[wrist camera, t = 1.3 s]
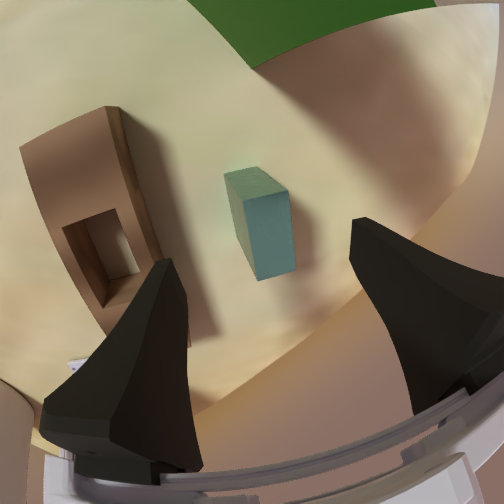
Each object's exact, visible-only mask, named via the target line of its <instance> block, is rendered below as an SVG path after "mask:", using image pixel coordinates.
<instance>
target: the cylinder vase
mask: <svg viewBox="0 0 504 504" xmlns="http://www.w3.org/2000/svg"><path fill="white" fill-rule="evenodd" d="M34 418H35V415H34V411H33V409H32V407H31V405H30V404H29V403H28V402H27V400H26V399H25V398H24V397H23V396H22V395H20V394H19V393H18V392H17V391H16V390H14V389H13V388H12V387H10V386H9V385H7V384H6V383H4V382H3V381H1V380H0V504H27V473H28V460H29V451H30V443H31V436H32V429H33V423H34Z"/></svg>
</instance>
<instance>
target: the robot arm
mask: <svg viewBox="0 0 504 504" xmlns="http://www.w3.org/2000/svg"><path fill="white" fill-rule="evenodd" d="M349 260H350V262H351V265H352V267H353V269H354V271H355V274H356V276H357V278H358V280H359V281H360V283H361V285H362V286H363V288H364V290H365V291H366V293H367V295H368V296H369V298H370V299H371V301H372V303H373V304H374V306H375V308H376V309H377V311H378V313H379V314H380V316H381V318H382V320H383V321H384V323H385V325H386V327H387V329H388V331H389V334H390V337H391V339H392V341H393V344H394V346H395V349H396V352H397V354H398V357H399V360H400V363H401V366H402V369H403V372H404V376H405V379H406V383H407V387H408V391H409V395H410V400H411V404H412V410H413V414H414V416H413V417H411V418H409V419H407V420H405V421H403V422H401V423H399V424H397V425H394V426H392V427H390V428H388V429H385V430H383V431H381V432H378V433H376V434H373V435H371V436H368V437H366V438H363V439H361V440H358V441H355V442H352V443H349V444H346V445H343V446H340V447H337V448H334V449H331V450H328V451H324V452H321V453H317V454H314V455H310V456H306V457H302V458H298V459H294V460H290V461H285V462H280V463H276V464H270V465H264V466H259V467H252V468H246V469H238V470H230V471H219V472H206V473H195V472H199V471H200V470H201V469H202V467H203V466H204V465H203V462H202V458H201V454H200V450H199V445H198V442H197V437H196V432H195V427H194V421H193V415H192V409H191V402H190V395H189V386H188V377H187V346H188V307H187V295H186V293H185V291H184V288H183V286H182V284H181V281H180V279H179V277H178V274H177V272H176V269H175V267H174V265H173V262H172V260H171V258H168V259H163V260H159V261H156V262H155V264H154V265H153V267H152V268H151V270H150V272H149V273H148V275H147V277H146V278H145V280H144V282H143V283H142V285H141V287H140V288H139V290H138V292H137V293H136V295H135V297H134V298H133V300H132V301H131V303H130V304H129V306H128V307H127V309H126V310H125V312H124V313H123V315H122V317H121V318H120V320H119V321H118V322H117V324H116V325H115V327H114V328H113V329H112V331H111V332H110V333H109V334H108V336H107V337H106V338H105V340H104V341H103V342H102V343H101V345H100V346H99V347H98V348H97V349H96V350H95V351H94V353H93V354H92V355H91V356H90V357H89V358H85V359H79V360H73V361H69V362H68V364H67V365H68V367H69V368H70V369H71V370H72V371H73V372H74V374H73V375H72V376H71V377H70V378H69V379H67V380H66V381H65V382H64V383H63V384H62V385H61V386H59V387H58V388H57V389H56V390H55V391H54V392H52V393H51V394H50V395H49V396H47V397H46V398H45V399H44V403H43V409H42V415H41V421H40V427H39V433H40V434H41V436H42V437H43V438H44V439H46V440H47V441H49V442H51V443H53V444H54V445H56V446H58V447H60V450H59V457H58V456H53V455H50V454H46V455H45V467H44V504H260V503H259V498H258V496H257V495H249V496H246V495H236V496H221V497H208V495H207V494H205V493H202V492H217V491H230V490H239V489H248V488H255V487H262V486H268V485H274V484H279V483H284V482H289V481H293V480H298V479H302V478H306V477H310V476H314V475H317V474H321V473H325V472H328V471H331V470H334V469H337V468H341V467H344V466H347V465H350V464H352V463H355V462H358V461H361V460H363V459H366V458H368V457H371V456H373V455H376V454H378V453H381V452H383V451H385V450H387V449H390V448H392V447H394V446H396V445H399V444H400V443H403V442H405V441H407V440H409V439H411V438H413V437H415V436H417V435H419V434H420V433H422V432H424V431H426V430H428V429H430V428H431V427H433V426H435V425H436V424H438V423H439V425H438V429H437V430H436V431H434V432H432V433H431V434H429V435H427V436H425V437H424V438H422V439H420V440H419V441H418V442H416V443H415V444H413V445H411V446H410V447H408V448H406V449H404V450H402V451H401V453H400V454H401V457H402V460H403V463H402V464H400V465H398V466H396V467H393V468H392V469H389V470H387V471H384V472H382V473H380V474H378V475H375V476H372V477H370V478H367V479H365V480H362V481H359V482H356V483H354V484H351V485H348V486H345V487H342V488H339V489H336V490H332V491H329V492H325V493H322V494H318V495H314V496H311V497H307V498H303V499H298V500H294V501H289V502H285V503H280V504H485V503H484V499H483V496H482V493H481V489H480V486H479V483H478V480H477V477H476V474H475V471H476V470H477V469H478V468H479V467H480V466H481V465H482V464H484V463H485V461H487V460H488V458H490V457H491V456H492V454H493V453H495V451H496V450H497V449H498V448H499V447H500V446H501V445H502V444H503V443H504V278H503V277H498V276H495V275H491V274H488V273H484V272H481V271H477V270H474V269H471V268H469V267H466V266H463V265H461V264H458V263H456V262H453V261H451V260H448V259H446V258H444V257H442V256H439V255H437V254H435V253H433V252H431V251H429V250H427V249H425V248H423V247H421V246H419V245H417V244H415V243H413V242H412V241H410V240H408V239H406V238H404V237H403V236H401V235H399V234H397V233H395V232H394V231H392V230H390V229H388V228H386V227H385V226H383V225H381V224H379V223H377V222H375V221H373V220H371V219H369V218H367V217H363V218H358V219H353V220H352V231H351V244H350V255H349ZM178 473H180V474H178Z"/></svg>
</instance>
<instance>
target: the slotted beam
mask: <svg viewBox="0 0 504 504" xmlns="http://www.w3.org/2000/svg"><path fill="white" fill-rule="evenodd" d="M19 148H20V152H21V156H22V159H23V163H24V166H25V170H26V173H27V176H28V179H29V182H30V185H31V188H32V191H33V194H34V196H35V199H36V202H37V205H38V207H39V210H40V212H41V215H42V217H43V220H44V222H45V224H46V227H47V229H48V231H49V234H50V236H51V238H52V240H53V243H54V245H55V247H56V249H57V251H58V253H59V255H60V257H61V259H62V261H63V263H64V265H65V267H66V269H67V271H68V273H69V275H70V277H71V279H72V280H73V282H74V284H75V286H76V288H77V289H78V291H79V293H80V295H81V296H82V298H83V300H84V301H85V303H86V305H87V306H88V308H89V310H90V311H91V313H92V315H93V316H94V318H95V319H96V321H97V322H98V324H99V325H100V327H101V328H102V330H103V331H104V333H105V334H106V336H108V334H109V333H110V332H111V331H112V329H113V328H114V327H115V325H116V324H117V322H118V321H119V320H120V318H121V317H122V315H123V313H124V312H125V310H126V309H127V307H128V306H129V304H130V303H131V301H132V300H133V298H134V297H135V295H136V293H137V292H138V290H139V288H140V287H141V285H142V283H143V282H144V280H145V278H146V277H147V275H148V273H149V272H150V270H151V268H152V267H153V265H154V264H155V262H156V261H159V260H163V259H164V258H163V255H162V252H161V250H160V247H159V244H158V241H157V239H156V236H155V233H154V230H153V227H152V224H151V221H150V218H149V215H148V212H147V209H146V206H145V203H144V200H143V197H142V193H141V190H140V187H139V184H138V180H137V177H136V173H135V170H134V167H133V163H132V159H131V156H130V152H129V148H128V145H127V141H126V137H125V133H124V129H123V125H122V121H121V116H120V112H119V107H115V106H104V107H101V108H98V109H96V110H94V111H91V112H89V113H86V114H84V115H82V116H79V117H77V118H75V119H73V120H70V121H68V122H66V123H64V124H62V125H60V126H58V127H56V128H54V129H52V130H50V131H48V132H46V133H44V134H42V135H40V136H38V137H37V138H35V139H33V140H31V141H29V142H28V143H26V144H24V145H23V146H21V147H19ZM114 208H115V209H116V212H117V214H118V217H119V220H120V223H121V225H122V228H123V231H124V233H125V236H126V238H127V241H128V243H129V246H130V248H131V251H132V253H133V256H134V258H135V260H136V263H137V265H138V267H139V270H140V273H137V274H133V275H130V276H126V277H123V278H119V279H116V280H112V281H110V279H109V277H108V275H107V273H106V271H105V269H104V267H103V265H102V263H101V261H100V259H99V256H98V254H97V252H96V250H95V248H94V245H93V243H92V241H91V239H90V236H89V234H88V231H87V229H86V227H85V224H84V222H83V219H85V218H88V217H91V216H94V215H96V214H99V213H102V212H105V211H108V210H111V209H114ZM189 347H191V341H190V333H189V324H188V346H187V348H189Z"/></svg>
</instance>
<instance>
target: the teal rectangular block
mask: <svg viewBox="0 0 504 504" xmlns="http://www.w3.org/2000/svg"><path fill="white" fill-rule="evenodd" d="M224 179H225V184H226V189H227V193H228V198H229V203H230V208H231V212H232V217H233V222H234V227H235V231H236V236H237V239H238V241H239V243H240V245H241V247H242V249H243V251H244V254H245V256H246V258H247V260H248V262H249V264H250V266H251V269H252V271H253V273H254V275H255V277H256V279H257V281H261V280H264V279H268V278H271V277H275V276H278V275H281V274H285V273H288V272H291V271H295V270H296V262H295V251H294V241H293V230H292V221H291V211H290V202H289V193H288V190H287V189H286V188H285V187H283V186H282V185H281V184H280V183H278V182H277V181H276V180H274V179H273V178H272V177H270V176H269V175H268V174H267V173H265V172H264V171H263V170H261V169H260V168H259V167H257V166H256V167H251V168H246V169H242V170H237V171H233V172H229V173H225V174H224Z"/></svg>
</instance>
